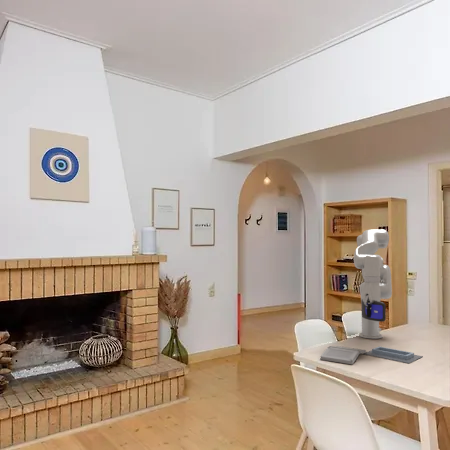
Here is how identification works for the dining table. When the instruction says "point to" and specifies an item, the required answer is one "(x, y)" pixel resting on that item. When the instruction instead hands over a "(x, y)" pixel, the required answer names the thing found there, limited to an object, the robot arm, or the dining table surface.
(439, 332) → the dining table surface
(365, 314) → the leaning round-cornered charcoal block
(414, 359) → the switch cradle
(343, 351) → the gadget
